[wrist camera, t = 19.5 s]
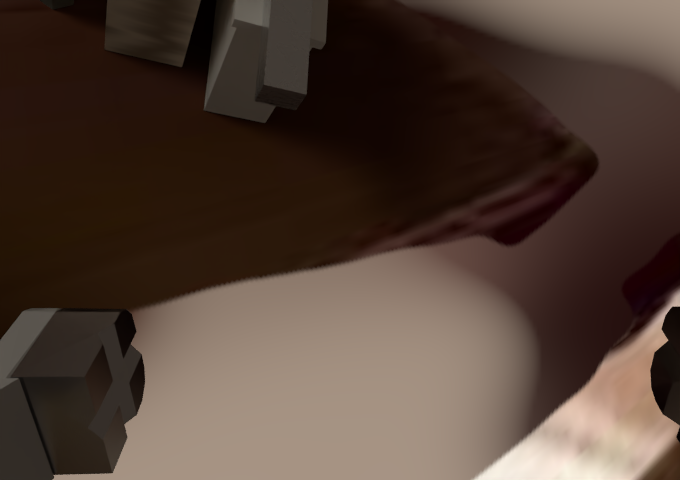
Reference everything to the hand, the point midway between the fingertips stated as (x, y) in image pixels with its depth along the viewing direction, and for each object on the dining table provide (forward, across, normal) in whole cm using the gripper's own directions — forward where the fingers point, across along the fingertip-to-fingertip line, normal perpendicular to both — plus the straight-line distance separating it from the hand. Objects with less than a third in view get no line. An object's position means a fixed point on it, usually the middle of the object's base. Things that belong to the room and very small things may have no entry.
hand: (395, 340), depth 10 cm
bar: (+44, +6, 0) cm, 44 cm away
